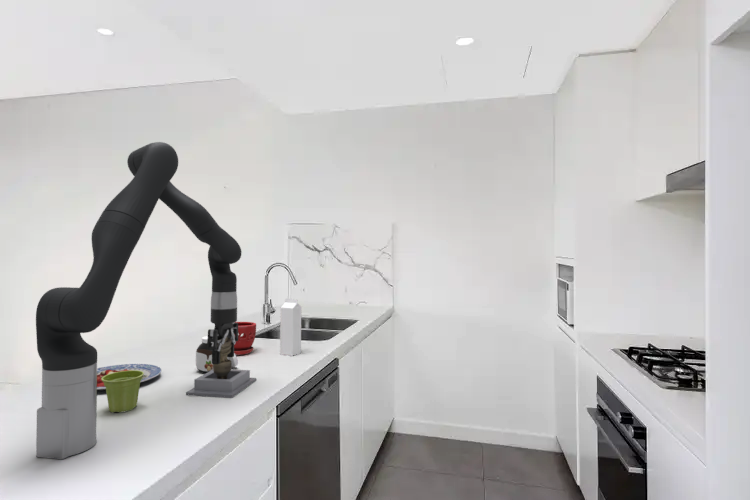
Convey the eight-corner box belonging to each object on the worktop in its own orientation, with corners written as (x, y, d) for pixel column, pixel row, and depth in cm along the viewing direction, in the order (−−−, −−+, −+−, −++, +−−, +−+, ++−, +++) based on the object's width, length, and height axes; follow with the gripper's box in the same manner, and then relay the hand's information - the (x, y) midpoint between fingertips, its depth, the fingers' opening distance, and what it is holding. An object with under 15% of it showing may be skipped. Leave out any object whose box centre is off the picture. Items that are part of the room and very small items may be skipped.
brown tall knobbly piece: (224, 389, 121) (225, 337, 121) (207, 387, 122) (208, 336, 122) (234, 383, 126) (235, 333, 126) (218, 381, 127) (219, 333, 127)
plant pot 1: (108, 419, 101) (108, 383, 101) (96, 409, 107) (96, 375, 107) (149, 408, 108) (149, 375, 108) (135, 399, 114) (136, 368, 114)
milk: (288, 351, 170) (289, 298, 171) (301, 353, 168) (301, 298, 168) (279, 354, 165) (280, 299, 165) (292, 356, 162) (293, 300, 163)
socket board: (232, 397, 116) (232, 384, 116) (185, 395, 118) (185, 381, 118) (256, 380, 132) (256, 368, 132) (215, 378, 134) (215, 366, 134)
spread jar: (191, 373, 139) (192, 338, 139) (212, 364, 150) (213, 332, 150) (223, 376, 136) (223, 340, 136) (242, 366, 147) (242, 334, 147)
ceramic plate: (40, 395, 117) (40, 384, 117) (103, 369, 143) (103, 360, 143) (129, 397, 116) (129, 386, 116) (176, 370, 142) (176, 362, 142)
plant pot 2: (255, 356, 163) (255, 325, 163) (219, 357, 160) (220, 326, 160) (256, 348, 175) (257, 320, 175) (223, 349, 172) (224, 320, 172)
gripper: (223, 310, 117) (223, 367, 117) (246, 304, 131) (245, 355, 131) (199, 309, 118) (198, 366, 118) (224, 303, 132) (223, 354, 132)
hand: (223, 360), depth 125 cm, fingers open, 8 cm apart
